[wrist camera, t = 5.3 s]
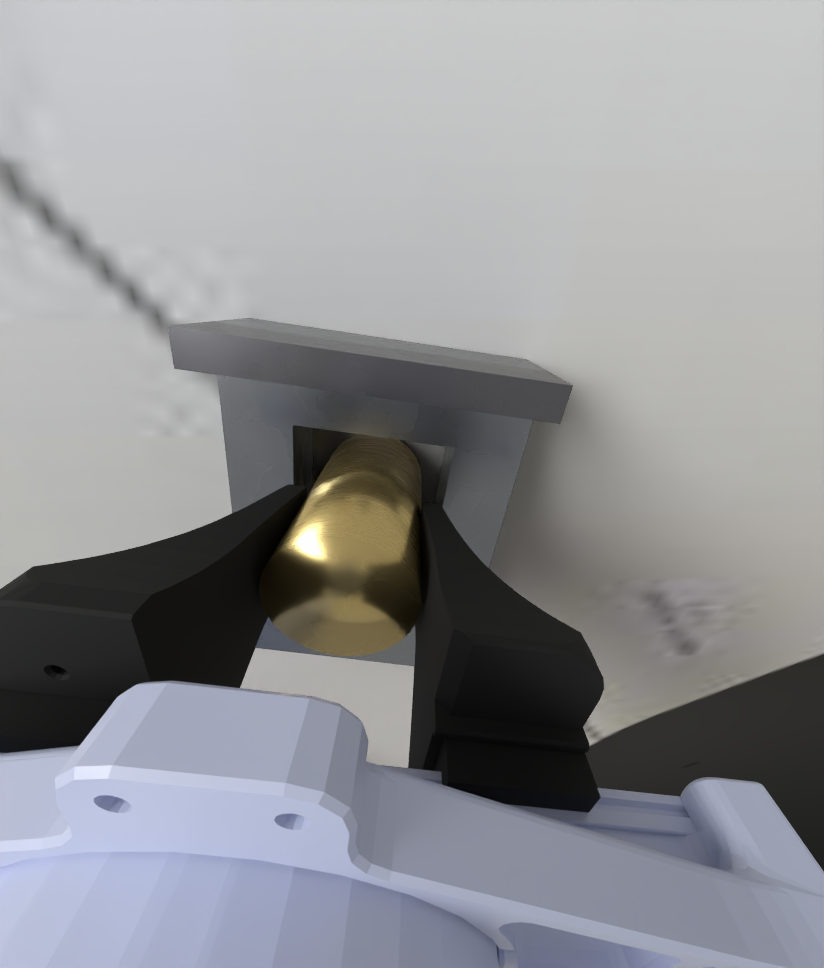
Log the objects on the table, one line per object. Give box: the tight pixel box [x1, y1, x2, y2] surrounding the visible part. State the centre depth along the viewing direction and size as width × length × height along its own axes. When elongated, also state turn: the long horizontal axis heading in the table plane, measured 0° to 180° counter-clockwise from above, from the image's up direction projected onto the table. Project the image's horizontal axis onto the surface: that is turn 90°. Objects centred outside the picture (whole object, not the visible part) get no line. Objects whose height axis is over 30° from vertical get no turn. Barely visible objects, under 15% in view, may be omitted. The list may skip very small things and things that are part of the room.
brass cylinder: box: [259, 434, 422, 656], centre depth 12 cm, size 4×4×7 cm
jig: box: [168, 318, 573, 666], centre depth 14 cm, size 14×10×4 cm
